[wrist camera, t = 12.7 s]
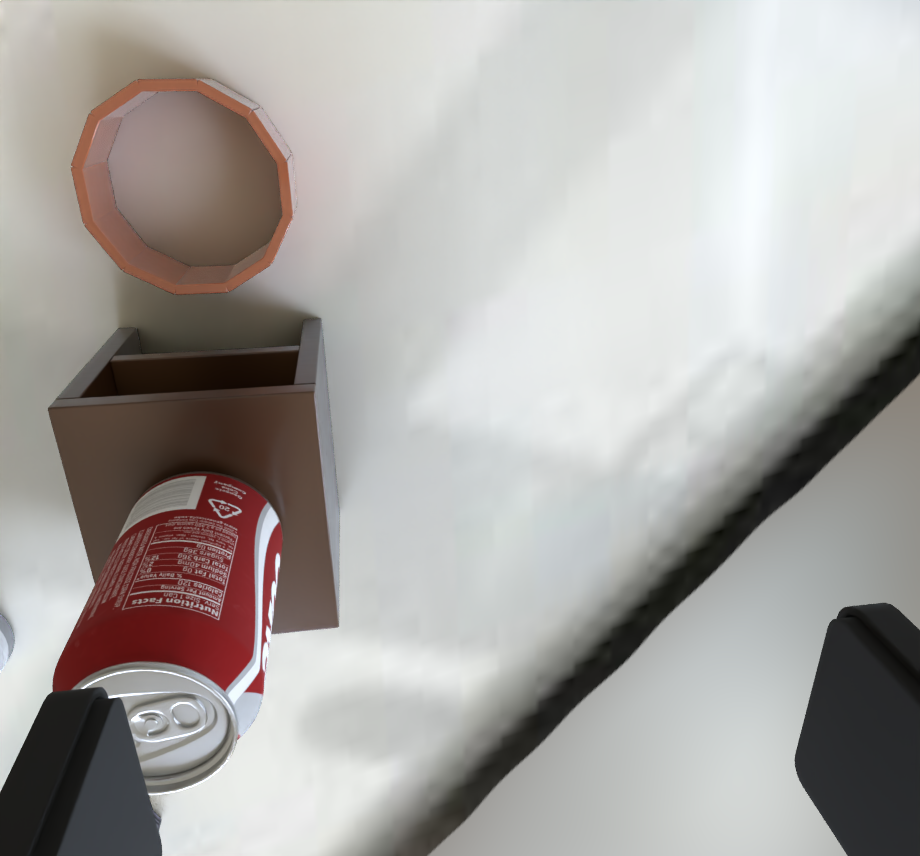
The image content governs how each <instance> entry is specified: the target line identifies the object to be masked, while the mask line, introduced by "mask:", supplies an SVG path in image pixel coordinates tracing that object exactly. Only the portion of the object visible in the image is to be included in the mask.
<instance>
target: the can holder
mask: <svg viewBox="0 0 920 856" xmlns="http://www.w3.org/2000/svg"><path fill="white" fill-rule="evenodd" d="M163 91H197V92H199V93H201V94H202V95H204V96H206V97H208V98H210V99H212V100H213V101H215V102H217V103H219V104H221V105H222V106H224V107H226V108H228V109H230V110H231V111H233V112H235V113H237V114H239V115H241V116H242V117H244V118H246V119H247V121H248V122H249V124H250V125H251V127H252V128H253V130H254V131H255V133H256V134H257V136H258V137H259V139H260V140H261V142H262V143H263V144H264V146H265V147H266V149H267V150H268V152H269V153H270V155H271V156H272V158H273V159H274V161H275V162H276V164H277V170H278V179H279V188H280V197H281V207H282V216H281V219H280V221H279V223H278V225H277V227H276V230H275V232H274V234H273V236H272V238H271V241H270V242H269V243H267V244H266V245H264V246H263V247H261V248H260V249H258V250H257V251H255V252H254V253H252V254H251V255H249V256H247V257H246V258H244V259H243V260H241V261H240V262H238V263H237V264H235V265H220V266H196V267H190V266H188V265H186V264H184V263H181V262H179V261H177V260H175V259H173V258H171V257H169V256H167V255H164V254H162V253H160V252H158V251H156V250H154V249H152V248H150V247H147V245H146V244H145V243H144V242H143V240H142V239H141V238H140V237H139V235H138V234H137V233H136V232H135V230H134V229H133V228H132V227H131V225H130V224H129V223H128V222H127V220H126V219H125V218H124V217H123V215H122V214H121V213H120V212H119V210H118V209H117V208H116V203H115V198H114V193H113V188H112V183H111V178H110V173H109V168H108V163H107V159H108V156H109V154H110V151H111V148H112V146H113V143H114V140H115V137H116V135H117V132H118V129H119V126H120V124H121V121H122V118H123V116H125V115H126V114H128V113H129V112H131V111H132V110H134V109H135V108H136V107H138V106H139V105H141V104H142V103H144V102H145V101H147V100H148V99H149V98H151V97H152V96H154V95H155V94H157V93H158V92H163ZM291 153H292V152H291V150H290V149H289V147H288V146H287V144H286V143H285V141H284V140H283V138H282V137H281V135H280V134H279V132H278V131H277V129H276V128H275V126H274V125H273V123H272V122H271V120H270V119H269V117H268V116H267V114H266V113H265V111H264V110H263V108H260V105H258V104H256V103H254V102H253V101H251V100H249V99H247V98H245V97H244V96H242V95H240V94H238V93H237V92H235V91H233V90H231V89H229V88H228V87H226V86H224V85H222V84H220V83H219V82H217V81H215V80H213V79H209V78H202V79H138V80H135V81H133V82H132V83H130V84H129V85H128V86H126V87H125V88H123V89H122V90H120V91H119V92H118V93H116V94H115V95H113V96H112V97H110V98H109V99H108V100H106V101H105V102H103V103H102V104H100V105H99V106H97V107H96V108H95V109H93V110H92V111H91V113H89V115H88V118H87V120H86V123H85V126H84V129H83V132H82V135H81V138H80V140H79V143H78V146H77V149H76V152H75V155H74V157H73V160H72V163H71V166H73V167H71V171H72V176H73V180H74V185H75V189H76V194H77V198H78V203H79V207H80V212H81V216H82V221H83V223H84V224H85V227H86V228H87V230H88V231H89V232H90V233H91V234H92V236H93V237H94V238H95V239H96V240H97V242H98V243H99V244H100V245H101V246H102V248H103V249H104V250H105V251H106V252H107V254H108V255H109V256H110V257H111V258H112V259H113V261H114V262H115V263H116V264H117V265H118V267H119V268H120V269H121V270H123V269H124V270H123V271H124V272H125V273H128V274H130V275H132V276H134V277H136V278H139V279H141V280H143V281H145V282H147V283H150V284H152V285H154V286H156V287H158V288H161V289H163V290H165V291H167V292H169V293H172V294H176V295H186V294H208V293H227V292H228V291H229V292H230V291H232V290H233V289H235V288H236V287H238V286H240V285H241V284H243V283H244V282H246V281H247V280H249V279H250V278H252V277H253V276H255V275H257V274H258V273H260V272H261V271H263V270H264V269H266V268H267V267H269V266H270V265H271V264H272V263H273V260H274V258H275V256H276V254H277V252H278V250H279V247H280V245H281V243H282V241H283V239H284V237H285V234H286V232H287V230H288V228H289V226H290V224H291V221H292V219H293V216H294V213H295V211H296V208H297V193H296V183H295V173H294V163H293V155H292V154H291Z"/></svg>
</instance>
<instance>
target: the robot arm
mask: <svg viewBox="0 0 920 856" xmlns="http://www.w3.org/2000/svg"><path fill="white" fill-rule="evenodd" d="M795 767H796V771H797V775H798V778H799V780H800V782H801V784H802V786H803V788H804V789H805V791H806V792H807V794H808V795H809V796H810V798H811V800H812V801H813V803H814V804H815V806H816V807H817V809H818V810H819V812H820V814H821V815H822V817H823V818H824V820H825V821H826V823H827V824H828V826H829V828H830V829H831V831H832V832H833V834H834V835H835V837H836V838H837V840H838V841H839V843H840V845H841V846H842V848H843V849H844V851H845V852H846V854H847V855H848V856H920V630H919V629H918V628H917V627H916V626H915V625H914V624H913V623H912V622H911V621H910V620H909V619H907V618H906V617H905V616H904V615H903V614H902V613H901V612H900V611H899V610H898V609H897V608H895V607H894V606H893V605H891V604H887V603H878V604H868V605H859V606H850V607H845V608H843V609H842V610H841V611H840V612H839V614H838V616H837V619H833V620H832V621H831V622H830V624H829V626H828V629H827V633H826V637H825V640H824V644H823V648H822V652H821V656H820V661H819V664H818V668H817V672H816V676H815V680H814V683H813V688H812V691H811V695H810V699H809V703H808V707H807V711H806V715H805V719H804V723H803V727H802V730H801V734H800V738H799V742H798V746H797V750H796V754H795ZM0 856H162V845H161V839H160V835H159V832H158V828H157V824H156V821H155V817H154V813H153V810H152V806H151V802H150V799H149V795H148V791H147V788H146V784H145V780H144V777H143V773H142V769H141V766H140V762H139V758H138V755H137V751H136V747H135V744H134V740H133V736H132V733H131V729H130V725H129V722H128V718H127V714H126V711H125V707H124V704H123V701H122V699H121V698H120V697H116V698H109V697H108V695H107V692H106V690H105V689H104V688H103V687H94V688H85V689H75V690H66V691H57V692H52V693H50V694H49V695H48V696H47V697H46V699H45V701H44V702H43V704H42V706H41V708H40V710H39V713H38V715H37V717H36V719H35V721H34V723H33V725H32V727H31V729H30V731H29V733H28V736H27V738H26V740H25V742H24V744H23V746H22V748H21V750H20V752H19V754H18V756H17V759H16V761H15V763H14V765H13V767H12V769H11V771H10V773H9V775H8V777H7V780H6V782H5V784H4V786H3V788H2V790H1V792H0Z"/></svg>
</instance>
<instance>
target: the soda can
mask: <svg viewBox="0 0 920 856" xmlns="http://www.w3.org/2000/svg"><path fill="white" fill-rule="evenodd" d="M282 543H283V533H282V527H281V523H280V520H279V517H278V515H277V513H276V511H275V509H274V508H273V506H272V505H271V503H270V502H269V501H268V500H267V498H266V497H265V496H264V495H263V494H262V493H260V492H259V491H258V490H257V489H255V488H254V487H252V486H251V485H249V484H248V483H246V482H244V481H242V480H240V479H237V478H235V477H232V476H229V475H225V474H221V473H215V472H205V471H197V472H187V473H182V474H178V475H174V476H171V477H168V478H166V479H164V480H162V481H160V482H158V483H156V484H155V485H153V486H152V487H151V488H149V489H148V490H147V491H146V492H145V493H143V494H142V496H141V497H140V498H139V499H138V500H137V502H136V503H135V505H134V506H133V508H132V510H131V512H130V514H129V516H128V518H127V520H126V522H125V524H124V527H123V529H122V531H121V533H120V535H119V537H118V539H117V541H116V543H115V545H114V547H113V549H112V551H111V553H110V555H109V557H108V560H107V562H106V564H105V566H104V568H103V570H102V572H101V574H100V576H99V578H98V580H97V582H96V584H95V586H94V588H93V590H92V592H91V595H90V597H89V599H88V601H87V603H86V605H85V607H84V609H83V611H82V613H81V615H80V617H79V619H78V621H77V623H76V625H75V627H74V630H73V632H72V634H71V636H70V638H69V640H68V642H67V644H66V646H65V648H64V650H63V652H62V654H61V656H60V658H59V661H58V663H57V666H56V668H55V672H54V677H53V692H57V691H66V690H75V689H85V688H94V687H103V688H104V689H105V690H106V692H107V695H108V697H109V698H116V697H120V698H121V699H122V701H123V704H124V707H125V711H126V714H127V718H128V722H129V725H130V729H131V733H132V736H133V740H134V744H135V747H136V751H137V755H138V758H139V762H140V766H141V769H142V773H143V777H144V780H145V784H146V788H147V791H148V795H156V794H166V793H172V792H177V791H180V790H184V789H187V788H190V787H193V786H195V785H197V784H199V783H201V782H203V781H205V780H207V779H208V778H210V777H211V776H213V775H214V774H215V773H217V772H218V771H219V770H220V769H221V768H222V767H223V766H224V765H225V764H226V762H227V761H228V760H229V758H230V757H231V755H232V753H233V751H234V749H235V746H236V743H237V740H238V739H239V738H240V737H241V736H242V735H243V734H244V733H245V732H246V731H247V730H248V728H249V727H250V726H251V724H252V723H253V721H254V720H255V718H256V716H257V714H258V712H259V709H260V706H261V703H262V698H263V692H264V684H265V676H266V668H267V661H268V653H269V645H270V637H271V629H272V622H273V614H274V606H275V598H276V590H277V583H278V575H279V567H280V559H281V551H282Z"/></svg>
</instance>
